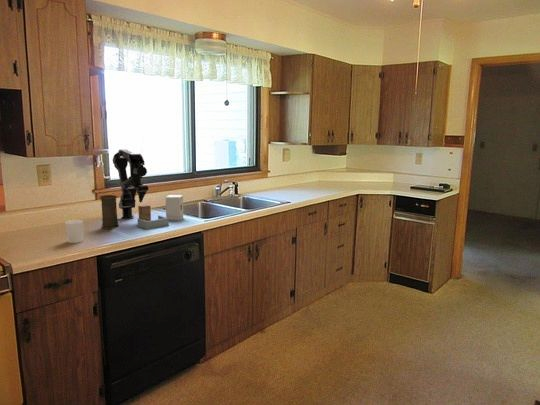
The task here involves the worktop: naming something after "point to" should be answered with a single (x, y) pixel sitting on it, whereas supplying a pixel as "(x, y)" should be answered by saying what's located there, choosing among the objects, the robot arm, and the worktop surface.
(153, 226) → the open box
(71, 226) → the white cup
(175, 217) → the supplement box
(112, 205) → the container
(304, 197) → the worktop surface
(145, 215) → the walnut block
